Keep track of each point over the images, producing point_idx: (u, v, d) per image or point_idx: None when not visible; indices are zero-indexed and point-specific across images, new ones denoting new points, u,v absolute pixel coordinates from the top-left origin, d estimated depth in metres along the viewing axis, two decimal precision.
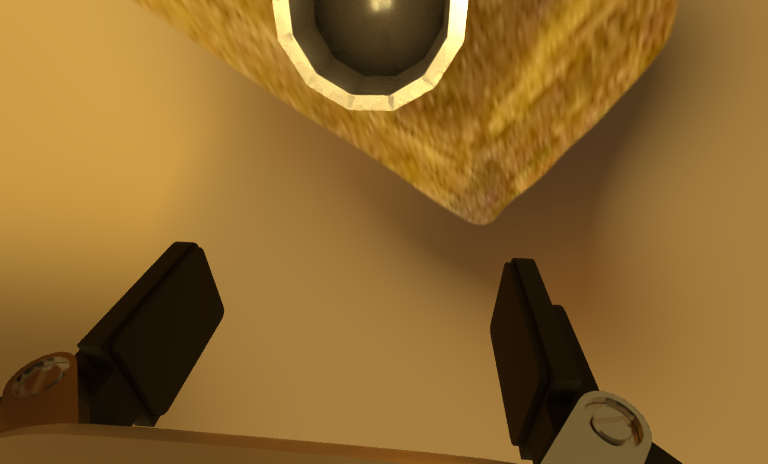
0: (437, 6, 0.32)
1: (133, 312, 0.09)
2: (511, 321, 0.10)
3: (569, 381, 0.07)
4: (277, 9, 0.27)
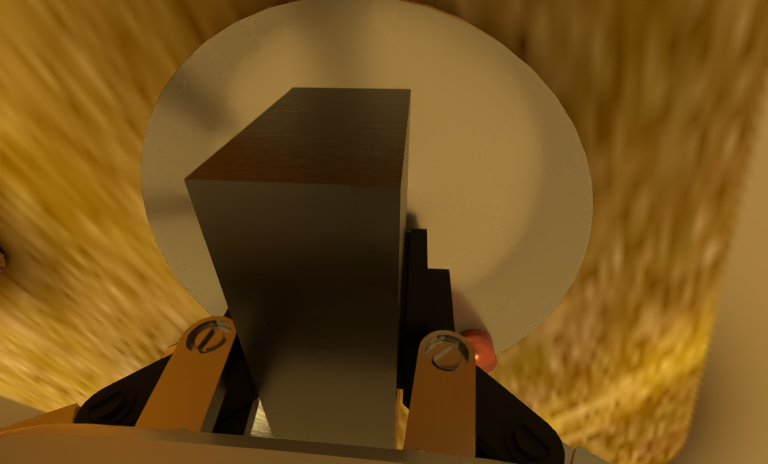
0: None
1: None
2: None
3: (418, 321, 0.08)
4: None
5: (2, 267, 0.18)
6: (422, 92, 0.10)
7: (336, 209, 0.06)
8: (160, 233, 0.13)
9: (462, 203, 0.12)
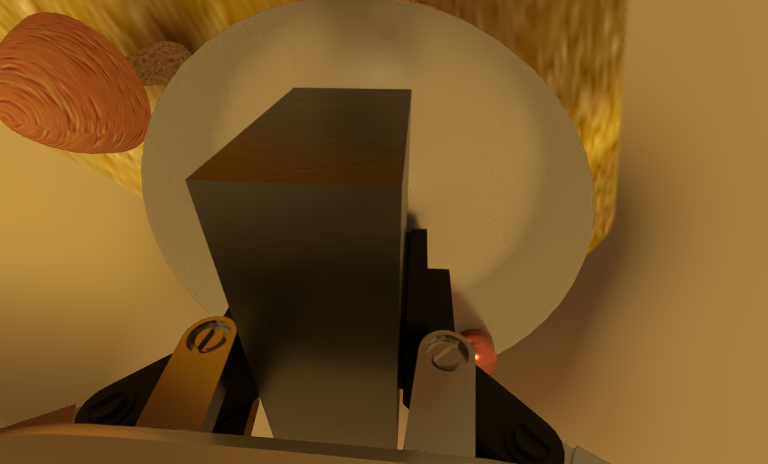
0: None
1: None
2: None
3: (418, 321, 0.08)
4: None
5: None
6: (423, 92, 0.10)
7: (337, 209, 0.06)
8: (161, 233, 0.13)
9: (463, 203, 0.12)
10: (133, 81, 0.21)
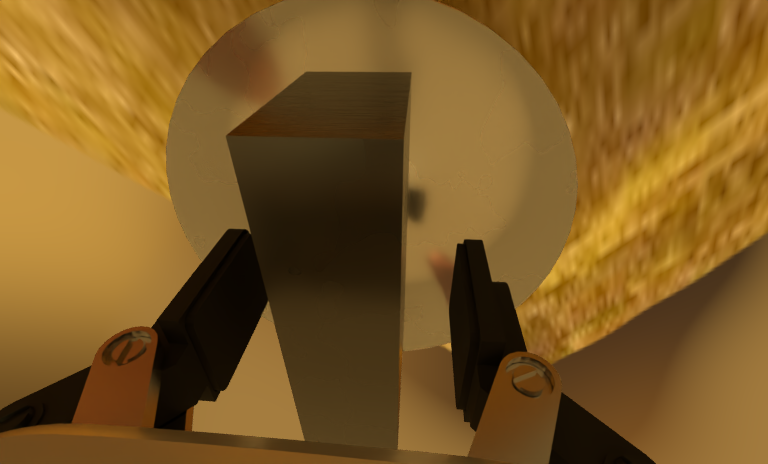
0: None
1: (202, 291, 0.09)
2: (458, 296, 0.10)
3: (494, 342, 0.08)
4: None
5: None
6: (422, 75, 0.11)
7: (350, 160, 0.07)
8: (182, 210, 0.15)
9: (459, 177, 0.13)
10: None
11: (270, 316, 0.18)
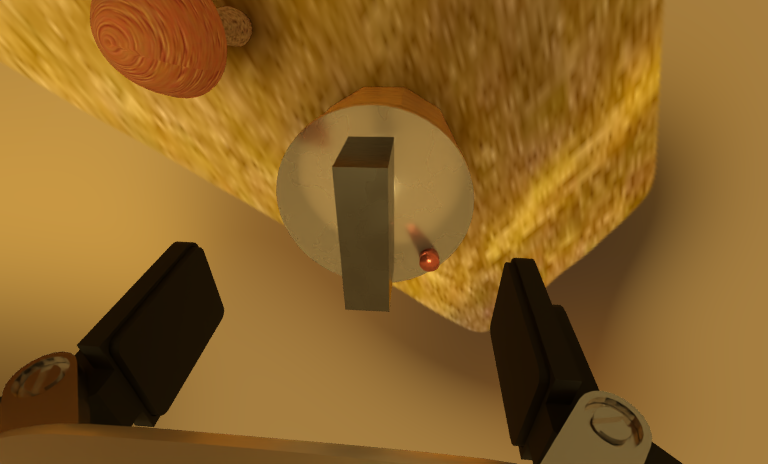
0: None
1: (133, 312, 0.09)
2: (511, 321, 0.10)
3: (569, 381, 0.07)
4: None
5: (250, 36, 0.32)
6: (398, 138, 0.25)
7: (371, 174, 0.21)
8: (281, 200, 0.29)
9: (418, 183, 0.27)
10: (215, 20, 0.22)
11: (320, 261, 0.32)
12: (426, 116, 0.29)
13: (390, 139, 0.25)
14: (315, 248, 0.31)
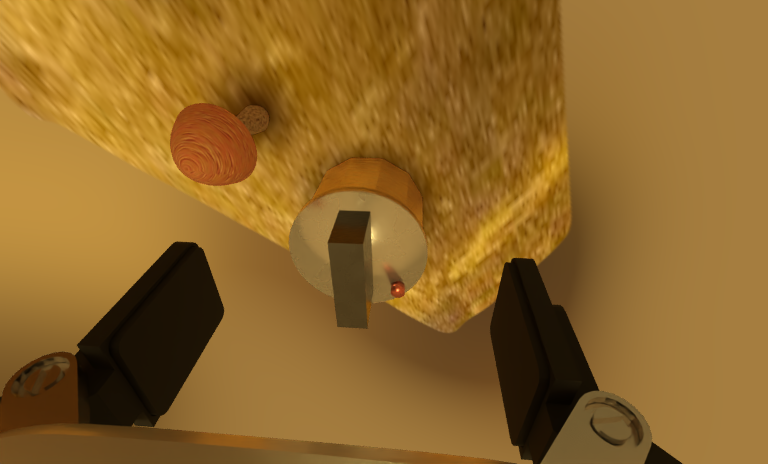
0: None
1: (133, 312, 0.09)
2: (511, 321, 0.10)
3: (569, 381, 0.07)
4: None
5: (267, 123, 0.43)
6: (373, 212, 0.37)
7: (352, 247, 0.33)
8: (292, 248, 0.41)
9: (388, 239, 0.39)
10: (250, 141, 0.34)
11: (319, 288, 0.44)
12: (395, 188, 0.41)
13: (367, 214, 0.37)
14: (316, 279, 0.43)
